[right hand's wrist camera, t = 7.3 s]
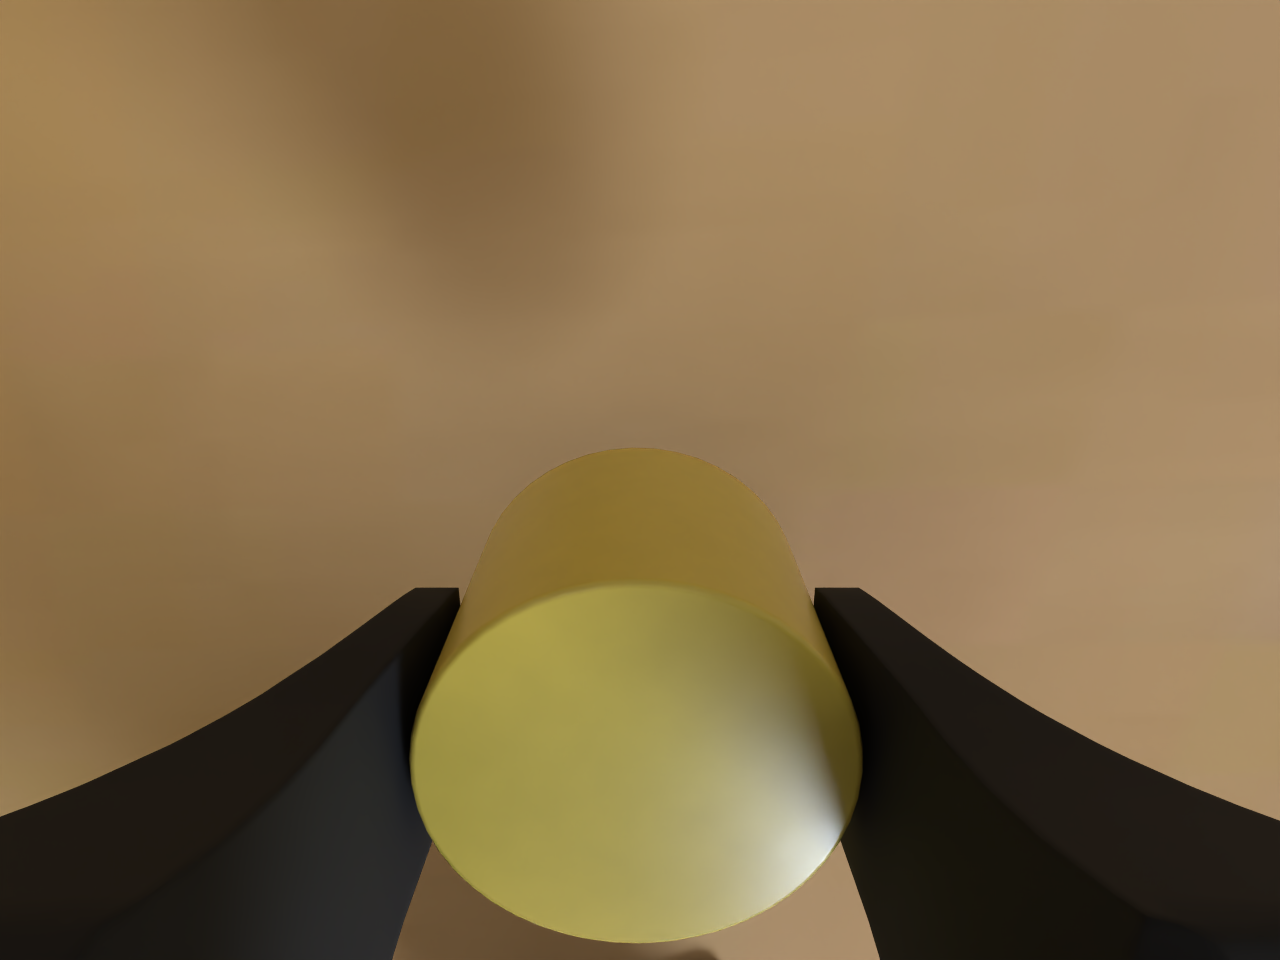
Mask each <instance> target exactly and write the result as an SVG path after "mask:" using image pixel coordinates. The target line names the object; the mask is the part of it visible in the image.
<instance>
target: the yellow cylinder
mask: <svg viewBox="0 0 1280 960" xmlns="http://www.w3.org/2000/svg"><path fill="white" fill-rule="evenodd" d="M409 764H410V776H411V785H412V789H413V793H414V797H415V801H416V805H417V809H418V811H419V814H420V816H421V818H422V821H423V823H424V825H425V828H426V830H427V832H428V834H429V835H430V837H431V839H432V840H433V842H434V844H435V845H436V847H437V848H438V850H439V852H440V853H441V854H442V855H443V857H444V858H445V859H446V860H447V862H448V863H449V864H450V865H451V866H452V868H453V869H454V870H455V871H456V872H457V873H458V874H459V875H460V876H461V877H462V878H463V879H464V880H465V881H467V882H468V883H469V884H470V885H471V886H472V887H473V888H474V889H476V890H477V891H478V892H480V893H481V894H482V895H484V896H485V897H486V898H488V899H489V900H490V901H492V902H493V903H495V904H497V905H498V906H500V907H502V908H504V909H505V910H507V911H509V912H511V913H512V914H514V915H516V916H518V917H521V918H523V919H525V920H527V921H530V922H532V923H534V924H536V925H539V926H542V927H545V928H548V929H551V930H554V931H557V932H560V933H563V934H568V935H572V936H577V937H581V938H586V939H591V940H599V941H608V942H617V943H652V942H666V941H674V940H680V939H686V938H692V937H697V936H701V935H705V934H708V933H712V932H716V931H720V930H723V929H725V928H728V927H731V926H733V925H736V924H738V923H741V922H744V921H746V920H748V919H750V918H752V917H754V916H756V915H758V914H760V913H762V912H764V911H766V910H768V909H770V908H771V907H773V906H774V905H776V904H777V903H779V902H780V901H782V900H783V899H785V898H786V897H788V896H790V895H791V894H792V893H793V892H794V891H796V890H797V889H798V888H799V887H800V886H802V885H803V884H804V883H805V882H806V881H808V880H809V879H810V878H811V877H812V876H813V874H814V873H815V872H816V871H817V870H818V869H819V868H820V867H821V866H822V865H823V864H824V863H825V862H826V860H827V859H828V857H829V856H830V855H831V853H832V852H833V850H834V849H835V848H836V846H837V845H838V843H839V842H840V840H841V838H842V836H843V834H844V832H845V830H846V828H847V827H848V825H849V823H850V821H851V818H852V815H853V812H854V809H855V806H856V803H857V800H858V796H859V790H860V785H861V779H862V773H863V745H862V739H861V732H860V726H859V722H858V719H857V716H856V713H855V710H854V707H853V704H852V701H851V698H850V696H849V693H848V691H847V688H846V686H845V683H844V681H843V678H842V676H841V673H840V671H839V668H838V666H837V663H836V661H835V658H834V656H833V653H832V651H831V648H830V646H829V643H828V641H827V638H826V636H825V633H824V631H823V629H822V626H821V624H820V621H819V619H818V616H817V614H816V611H815V609H814V606H813V604H812V601H811V599H810V596H809V594H808V591H807V589H806V586H805V584H804V581H803V579H802V576H801V574H800V571H799V569H798V566H797V564H796V562H795V559H794V557H793V554H792V552H791V549H790V547H789V544H788V542H787V539H786V537H785V535H784V533H783V531H782V529H781V527H780V526H779V524H778V522H777V520H776V519H775V518H774V516H773V515H772V513H771V512H770V510H769V509H768V508H767V506H766V505H765V504H764V503H763V502H762V501H761V500H760V499H759V498H758V497H757V496H756V495H755V494H754V492H753V491H751V490H750V489H749V488H748V487H746V486H745V485H744V484H743V483H741V482H740V481H739V480H738V479H736V478H735V477H733V476H732V475H730V474H728V473H727V472H725V471H723V470H722V469H720V468H718V467H716V466H714V465H712V464H709V463H707V462H705V461H703V460H700V459H698V458H695V457H691V456H688V455H684V454H681V453H678V452H672V451H666V450H660V449H651V448H625V449H614V450H607V451H602V452H598V453H593V454H588V455H585V456H583V457H580V458H577V459H574V460H571V461H569V462H566V463H564V464H562V465H560V466H558V467H556V468H554V469H552V470H550V471H548V472H547V473H545V474H544V475H542V476H541V477H540V478H538V479H537V480H535V481H534V482H532V483H531V484H530V485H529V486H527V487H526V488H525V489H524V490H523V491H522V492H521V493H520V494H519V495H518V496H516V497H515V498H514V500H513V501H512V502H511V503H510V504H509V506H508V507H507V508H506V509H505V511H504V512H503V513H502V514H501V516H500V518H499V519H498V521H497V523H496V524H495V526H494V528H493V529H492V531H491V533H490V536H489V538H488V541H487V543H486V545H485V548H484V550H483V552H482V555H481V557H480V560H479V562H478V564H477V567H476V569H475V572H474V574H473V576H472V579H471V581H470V584H469V586H468V589H467V591H466V593H465V596H464V598H463V601H462V603H461V605H460V608H459V610H458V613H457V615H456V618H455V620H454V622H453V625H452V627H451V630H450V632H449V634H448V637H447V639H446V642H445V644H444V646H443V649H442V651H441V654H440V656H439V659H438V661H437V663H436V666H435V668H434V671H433V673H432V675H431V678H430V680H429V683H428V685H427V688H426V690H425V692H424V695H423V697H422V700H421V702H420V704H419V707H418V709H417V712H416V716H415V720H414V724H413V728H412V732H411V740H410V753H409Z"/></svg>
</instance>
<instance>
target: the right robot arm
mask: <svg viewBox="0 0 1280 960" xmlns="http://www.w3.org/2000/svg"><path fill="white" fill-rule="evenodd" d="M459 608H460V598H459V588H414V589H413V590H411V591H410V592H408V593H406V594H405V595H403V596H402V597H400V598H399V599H398V600H396V601H395V602H393V603H392V604H391V605H389V606H388V607H387V608H385V609H384V610H382V611H381V612H380V613H378V614H377V615H376V616H374V617H373V618H372V619H370V620H369V621H368V622H366V623H365V624H364V625H362V626H361V627H359V628H358V629H357V630H355V631H354V632H353V633H351V634H350V635H348V636H347V637H346V638H344V639H343V640H341V641H340V642H339V643H337V644H336V645H335V646H333V647H332V648H330V649H329V650H328V651H326V652H325V653H323V654H322V655H321V656H319V657H318V658H316V659H315V660H313V661H312V662H310V663H308V664H307V665H305V666H304V667H302V668H301V669H299V670H298V671H296V672H295V673H293V674H292V675H290V676H289V677H287V678H286V679H284V680H283V681H281V682H279V683H278V684H276V685H275V686H273V687H272V688H270V689H269V690H267V691H266V692H264V693H263V694H261V695H259V696H258V697H256V698H254V699H253V700H251V701H250V702H248V703H246V704H244V705H243V706H241V707H239V708H238V709H236V710H234V711H232V712H231V713H229V714H227V715H225V716H224V717H222V718H220V719H218V720H216V721H214V722H212V723H211V724H209V725H207V726H205V727H203V728H201V729H199V730H197V731H196V732H194V733H192V734H190V735H188V736H186V737H184V738H182V739H180V740H178V741H176V742H174V743H172V744H170V745H168V746H166V747H164V748H162V749H160V750H158V751H155V752H153V753H151V754H149V755H147V756H144V757H142V758H140V759H138V760H136V761H134V762H131V763H129V764H127V765H125V766H123V767H120V768H118V769H116V770H114V771H112V772H109V773H107V774H105V775H103V776H101V777H99V778H96V779H94V780H92V781H90V782H88V783H85V784H83V785H80V786H78V787H76V788H73V789H71V790H68V791H66V792H63V793H61V794H58V795H56V796H53V797H51V798H48V799H46V800H43V801H41V802H38V803H36V804H33V805H31V806H28V807H25V808H23V809H20V810H17V811H14V812H12V813H9V814H6V815H4V816H1V817H0V960H392V958H393V954H394V951H395V948H396V945H397V941H398V938H399V935H400V932H401V928H402V925H403V922H404V919H405V916H406V913H407V910H408V908H409V905H410V902H411V899H412V896H413V894H414V891H415V888H416V885H417V882H418V880H419V877H420V874H421V871H422V868H423V866H424V863H425V860H426V857H427V854H428V852H429V849H430V846H431V843H432V841H433V840H432V839H431V837H430V835H429V834H428V832H427V830H426V828H425V825H424V823H423V821H422V818H421V816H420V814H419V811H418V809H417V805H416V801H415V797H414V793H413V789H412V785H411V776H410V764H409V753H410V740H411V732H412V728H413V724H414V720H415V716H416V712H417V709H418V707H419V704H420V702H421V700H422V697H423V695H424V692H425V690H426V688H427V685H428V683H429V680H430V678H431V675H432V673H433V671H434V668H435V666H436V663H437V661H438V659H439V656H440V654H441V651H442V649H443V646H444V644H445V642H446V639H447V637H448V634H449V632H450V630H451V627H452V625H453V622H454V620H455V618H456V615H457V613H458V610H459ZM814 609H815V611H816V614H817V616H818V619H819V621H820V624H821V626H822V629H823V631H824V633H825V636H826V638H827V641H828V643H829V646H830V648H831V651H832V653H833V656H834V658H835V661H836V663H837V666H838V668H839V671H840V673H841V676H842V678H843V681H844V683H845V686H846V688H847V691H848V693H849V696H850V698H851V701H852V704H853V707H854V710H855V713H856V716H857V719H858V722H859V726H860V732H861V739H862V745H863V773H862V779H861V785H860V790H859V796H858V800H857V803H856V806H855V809H854V812H853V815H852V818H851V821H850V823H849V825H848V827H847V828H846V830H845V832H844V834H843V836H842V838H841V843H842V846H843V849H844V852H845V854H846V857H847V860H848V863H849V866H850V869H851V872H852V875H853V877H854V880H855V883H856V886H857V889H858V892H859V895H860V898H861V900H862V903H863V906H864V909H865V912H866V915H867V918H868V921H869V924H870V927H871V931H872V934H873V937H874V940H875V944H876V947H877V950H878V954H879V957H880V960H1280V821H1279V820H1276V819H1274V818H1271V817H1268V816H1265V815H1263V814H1260V813H1257V812H1255V811H1252V810H1249V809H1246V808H1244V807H1241V806H1238V805H1236V804H1233V803H1231V802H1228V801H1226V800H1223V799H1221V798H1219V797H1216V796H1214V795H1211V794H1209V793H1206V792H1204V791H1201V790H1199V789H1196V788H1194V787H1191V786H1189V785H1187V784H1185V783H1182V782H1180V781H1178V780H1176V779H1173V778H1171V777H1169V776H1167V775H1164V774H1162V773H1160V772H1158V771H1156V770H1153V769H1151V768H1149V767H1147V766H1144V765H1142V764H1140V763H1138V762H1135V761H1133V760H1131V759H1129V758H1127V757H1125V756H1123V755H1121V754H1119V753H1117V752H1114V751H1112V750H1110V749H1108V748H1106V747H1104V746H1102V745H1100V744H1098V743H1096V742H1094V741H1092V740H1091V739H1089V738H1087V737H1085V736H1083V735H1081V734H1079V733H1078V732H1076V731H1074V730H1072V729H1070V728H1068V727H1066V726H1065V725H1063V724H1061V723H1059V722H1057V721H1055V720H1053V719H1052V718H1050V717H1048V716H1046V715H1044V714H1042V713H1041V712H1039V711H1037V710H1036V709H1034V708H1032V707H1031V706H1029V705H1027V704H1025V703H1024V702H1022V701H1020V700H1019V699H1017V698H1016V697H1014V696H1013V695H1011V694H1009V693H1008V692H1006V691H1005V690H1003V689H1002V688H1000V687H998V686H997V685H995V684H994V683H992V682H991V681H989V680H987V679H986V678H984V677H983V676H981V675H980V674H978V673H977V672H975V671H974V670H972V669H971V668H969V667H968V666H966V665H965V664H963V663H962V662H961V661H959V660H958V659H956V658H955V657H953V656H952V655H951V654H949V653H948V652H946V651H945V650H944V649H942V648H941V647H939V646H938V645H937V644H935V643H934V642H933V641H931V640H930V639H928V638H927V637H926V636H924V635H923V634H922V633H920V632H919V631H918V630H916V629H915V628H914V627H912V626H911V625H910V624H908V623H907V622H906V621H904V620H903V619H902V618H900V617H899V616H898V615H896V614H895V613H894V612H892V611H891V610H890V609H888V608H887V607H886V606H884V605H883V604H882V603H880V602H879V601H878V600H876V599H875V598H873V597H872V596H871V595H869V594H868V593H866V592H865V591H863V590H861V589H860V588H815V596H814Z"/></svg>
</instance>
